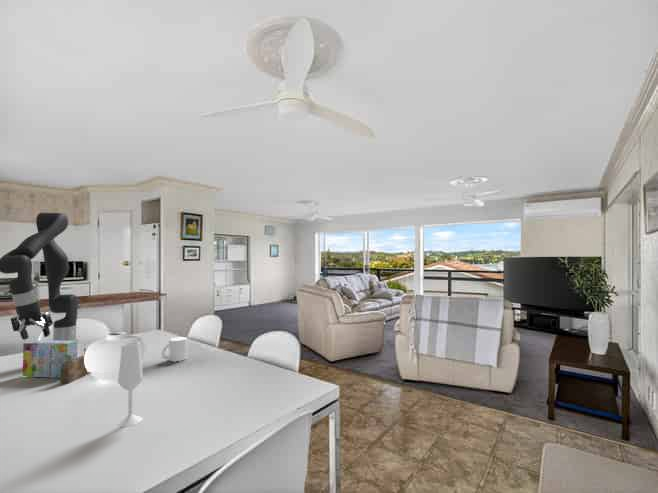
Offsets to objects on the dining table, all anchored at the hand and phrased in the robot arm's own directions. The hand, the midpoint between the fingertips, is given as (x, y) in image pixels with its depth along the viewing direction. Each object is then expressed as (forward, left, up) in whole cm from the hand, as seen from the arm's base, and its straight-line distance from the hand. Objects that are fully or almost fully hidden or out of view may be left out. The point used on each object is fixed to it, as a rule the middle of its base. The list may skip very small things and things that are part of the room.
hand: (36, 337), depth 146 cm
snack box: (-4, +2, -18) cm, 19 cm away
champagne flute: (+38, +64, -18) cm, 77 cm away
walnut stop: (-2, +17, -18) cm, 24 cm away
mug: (-26, +47, -18) cm, 57 cm away
